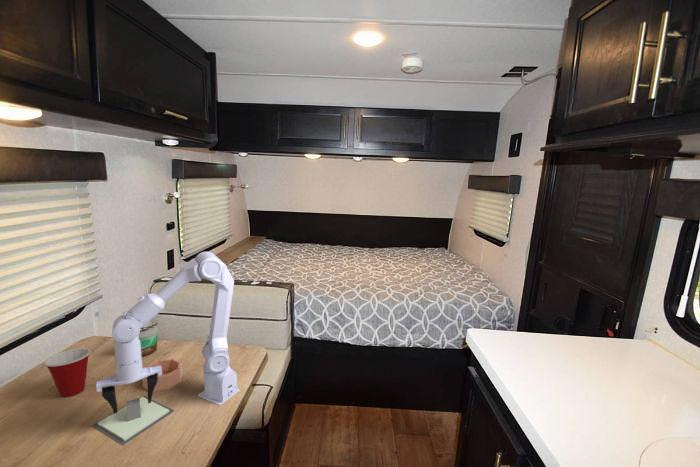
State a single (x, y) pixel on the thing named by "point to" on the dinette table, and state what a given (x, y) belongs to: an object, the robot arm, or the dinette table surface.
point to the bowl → (166, 374)
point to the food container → (148, 339)
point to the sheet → (133, 425)
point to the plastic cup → (69, 370)
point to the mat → (136, 433)
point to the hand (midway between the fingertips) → (133, 405)
